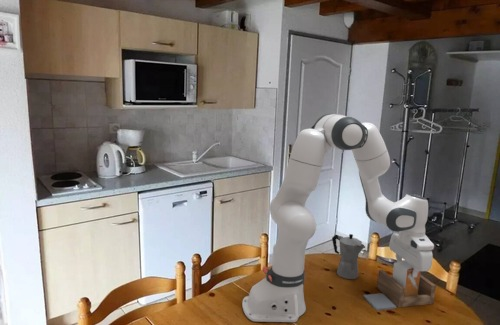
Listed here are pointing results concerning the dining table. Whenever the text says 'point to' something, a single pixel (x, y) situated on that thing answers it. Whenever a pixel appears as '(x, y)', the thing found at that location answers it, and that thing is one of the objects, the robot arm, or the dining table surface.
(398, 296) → the open wooden box
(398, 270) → the small box
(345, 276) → the coffeepot
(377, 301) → the mat
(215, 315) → the dining table surface
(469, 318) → the dining table surface
